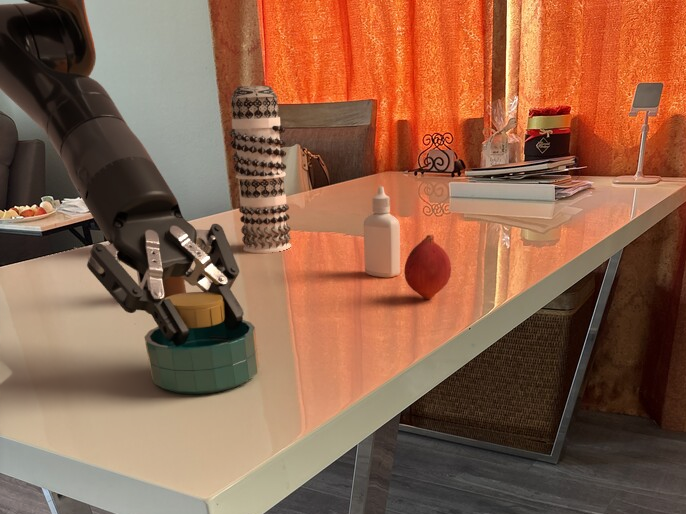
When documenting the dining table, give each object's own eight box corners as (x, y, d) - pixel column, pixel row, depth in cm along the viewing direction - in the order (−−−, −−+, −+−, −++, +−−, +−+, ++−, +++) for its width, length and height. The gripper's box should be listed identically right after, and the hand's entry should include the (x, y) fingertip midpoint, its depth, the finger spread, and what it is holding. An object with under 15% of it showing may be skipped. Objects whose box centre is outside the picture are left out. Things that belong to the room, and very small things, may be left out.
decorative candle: (276, 241, 131) (262, 86, 119) (303, 248, 125) (293, 84, 113) (231, 248, 126) (213, 87, 114) (258, 255, 120) (242, 86, 108)
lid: (233, 323, 65) (231, 300, 64) (176, 331, 63) (173, 308, 62) (212, 310, 69) (210, 289, 68) (158, 318, 67) (155, 296, 66)
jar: (146, 304, 94) (132, 226, 89) (151, 295, 98) (139, 220, 93) (184, 302, 94) (173, 224, 89) (188, 293, 98) (177, 218, 94)
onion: (402, 305, 89) (402, 238, 85) (406, 293, 94) (406, 230, 90) (449, 305, 88) (451, 238, 85) (450, 293, 93) (452, 229, 90)
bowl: (141, 399, 64) (132, 351, 62) (166, 361, 73) (158, 318, 71) (253, 395, 64) (247, 346, 62) (263, 358, 73) (259, 314, 71)
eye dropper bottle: (373, 279, 102) (371, 189, 96) (362, 271, 106) (360, 185, 101) (402, 277, 103) (402, 187, 97) (390, 269, 107) (389, 183, 102)
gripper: (174, 203, 74) (257, 337, 73) (40, 221, 65) (130, 375, 64) (197, 148, 68) (287, 293, 67) (52, 160, 60) (152, 327, 58)
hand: (210, 332), depth 65 cm, fingers closed on lid, 5 cm apart
